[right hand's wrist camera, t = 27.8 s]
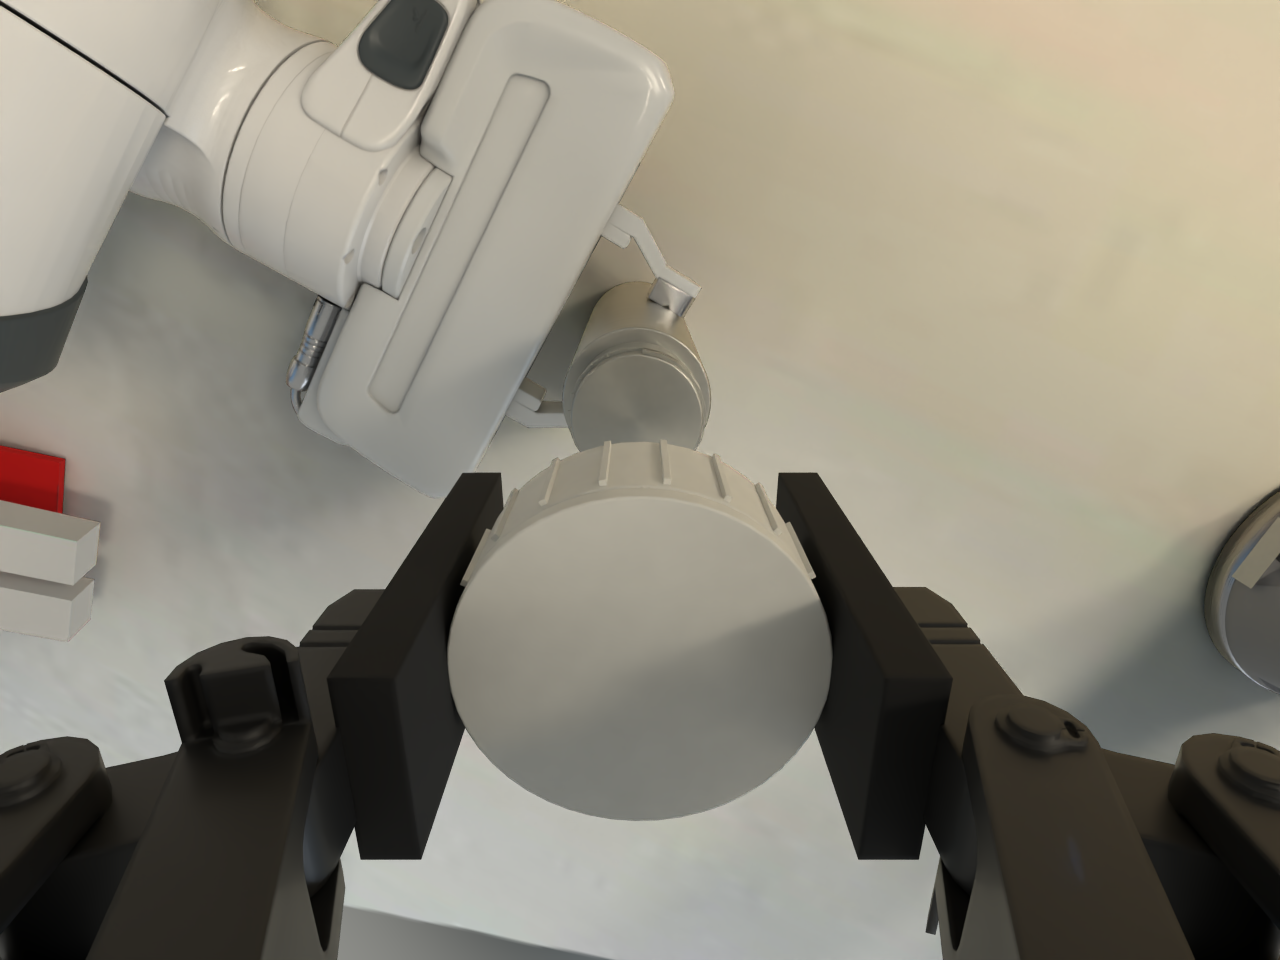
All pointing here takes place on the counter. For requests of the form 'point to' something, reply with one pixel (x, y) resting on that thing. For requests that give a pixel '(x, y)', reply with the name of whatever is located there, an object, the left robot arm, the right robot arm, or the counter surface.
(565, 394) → the jar
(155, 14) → the left robot arm
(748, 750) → the lid
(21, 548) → the toy
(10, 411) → the counter surface
